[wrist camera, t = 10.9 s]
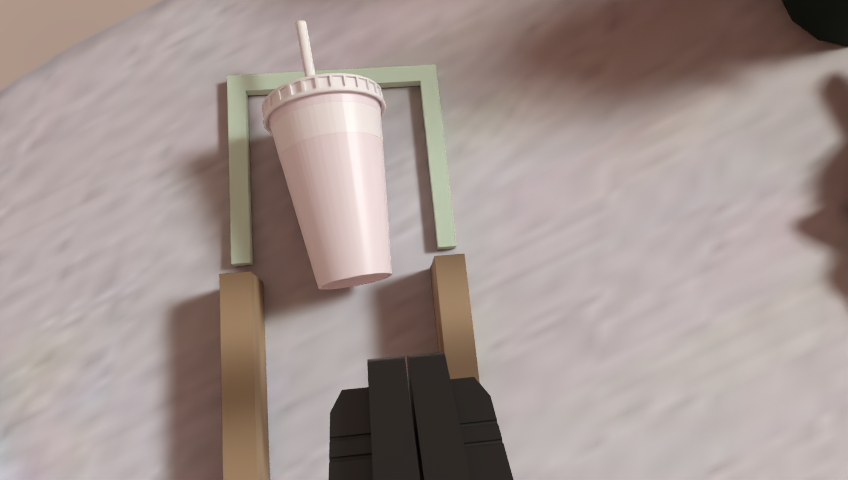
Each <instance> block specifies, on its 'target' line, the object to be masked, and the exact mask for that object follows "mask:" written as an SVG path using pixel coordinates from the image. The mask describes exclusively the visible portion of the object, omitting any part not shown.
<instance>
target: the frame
mask: <svg viewBox="0 0 848 480" xmlns="http://www.w3.org/2000/svg"><path fill="white" fill-rule="evenodd" d="M325 73H348V74H355V75H360V76H363V77H366V78H369V79H371V80H373V81H374V82H376V83H377V84H378V85H379V86H380V87H381V88H388V87H406V86H420V91H421V101H422V110H423V119H424V129H425V138H426V148H427V157H428V166H429V176H430V185H431V195H432V204H433V213H434V223H435V232H436V242H437V250H441V249H453V248H456V246H457V245H456V236H455V228H454V219H453V210H452V202H451V193H450V184H449V175H448V167H447V158H446V149H445V140H444V132H443V123H442V114H441V105H440V97H439V88H438V79H437V70H436V64H431V65H413V66H394V67H376V68H358V69H340V70H322V71H315V75H317V74H325ZM302 77H305V74H304V71H303V72H285V73H267V74H249V75H230V76H227V99H228V144H229V188H230V233H231V264H232V265H233V266H245V265H253V251H252V219H251V187H250V155H249V123H248V96H250V95H267V94H270V93H271V92H272V91H273V90H275V89H276V88H278V87H279V86H281V85H283V84H286V83H288V82H290V81H293V80H296V79H299V78H302Z"/></svg>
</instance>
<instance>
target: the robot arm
mask: <svg viewBox="0 0 848 480" xmlns="http://www.w3.org/2000/svg"><path fill="white" fill-rule="evenodd" d="M407 364H408V380H407V372H406V364H405V357H404V356H399V357H389V358H379V359H368V383H369V387H367V388H357V389H347V390H342V391H341V393H340V395H339V397H338V399H337V401H336V402H335V404H334V406H333V408H332V410H331V412H330V450H329V459H330V463H329V480H513V477H512V473H511V469H510V466H509V462H508V459H507V455H506V451H505V448H504V444H503V443H502V437H501V433H500V430H499V426H498V424H497V419H496V415H495V411H494V408H493V404H492V400H491V397H490V395H489V394H488V393H487V391H486V390H485V389H484V388H483V387H482V386H481V384H480V383H479V382H478V381H477V380H476V379H475V377H467V378H457V379H450V375H449V371H448V366H447V361H446V356H445V353H444V352H442V353H431V354H421V355H411V356H407ZM408 382H409V388H408Z"/></svg>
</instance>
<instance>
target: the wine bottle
mask: <svg viewBox="0 0 848 480" xmlns="http://www.w3.org/2000/svg"><path fill="white" fill-rule="evenodd" d="M782 1H783V3H784V5H785V7H786V9H787V11H788V13H789V15H790V16H791V18H792V20H793V21H794V22H795V23H797V24H798V25H800V26H801V27H802V28H804V29H805V30H806V31H808V32H809V33H810V34H812V35H813V36H814V37H816V38H817V39H818V40H822V41H826V42H831V43H835V44H840V45H845V46H848V0H782Z"/></svg>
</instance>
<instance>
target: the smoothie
mask: <svg viewBox="0 0 848 480" xmlns="http://www.w3.org/2000/svg"><path fill="white" fill-rule="evenodd" d="M296 29H297V35H298V40H299V46H300V52H301V57H302V63H303V69H304V74H305V77H302V78H299V79H296V80H293V81H290V82H288V83H286V84H283V85H281V86H279V87H278V88H276V89H275V90H273V91H272V92H271V93H270V94H269V95H268V96H267V97H266V98H265V99H264V101H263V103H262V112H263V118H264V119H263V124H264V128H265V129H266V130H267V131H268V132H269V133H270V134H272V135H273V138H274V141H275V145H276V149H277V152H278V156H279V159H280V162H281V165H282V168H283V172H284V175H285V178H286V182H287V185H288V189H289V192H290V195H291V199H292V202H293V205H294V209H295V212H296V215H297V219H298V222H299V225H300V229H301V232H302V236H303V239H304V242H305V246H306V249H307V252H308V256H309V259H310V262H311V266H312V269H313V272H314V276H315V279H316V282H317V286H318V289H325V290H326V289H339V288H346V287H353V286H358V285H363V284H367V283H372V282H375V281H379V280H382V279H385V278H388V277H390V276H391V275H392V268H391V253H390V239H389V224H388V210H387V195H386V180H385V166H384V151H383V135H382V124H381V118H382V117H383V115H384V114H385V111H386V104H385V102H384V99H383V94H382V90H381V87H380V86H379V85H378V84H377V83H376V82H374V81H373V80H371V79H369V78H366V77H363V76H360V75H355V74H348V73H325V74H317V75H315V70H314V64H313V58H312V53H311V47H310V42H309V36H308V31H307V25H306V22H305V21H297V22H296Z"/></svg>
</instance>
